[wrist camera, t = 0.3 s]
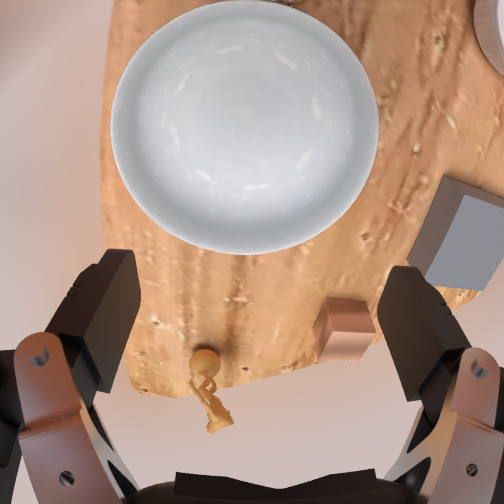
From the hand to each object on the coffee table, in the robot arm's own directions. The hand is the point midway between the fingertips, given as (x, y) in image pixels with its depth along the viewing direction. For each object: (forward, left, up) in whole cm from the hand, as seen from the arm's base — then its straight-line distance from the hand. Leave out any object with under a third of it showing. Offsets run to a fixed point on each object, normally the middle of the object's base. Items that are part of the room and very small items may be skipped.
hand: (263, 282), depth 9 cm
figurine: (+28, -1, -18) cm, 33 cm away
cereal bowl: (-1, -1, -18) cm, 18 cm away
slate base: (+5, +23, -18) cm, 29 cm away
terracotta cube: (+19, +13, -18) cm, 29 cm away
